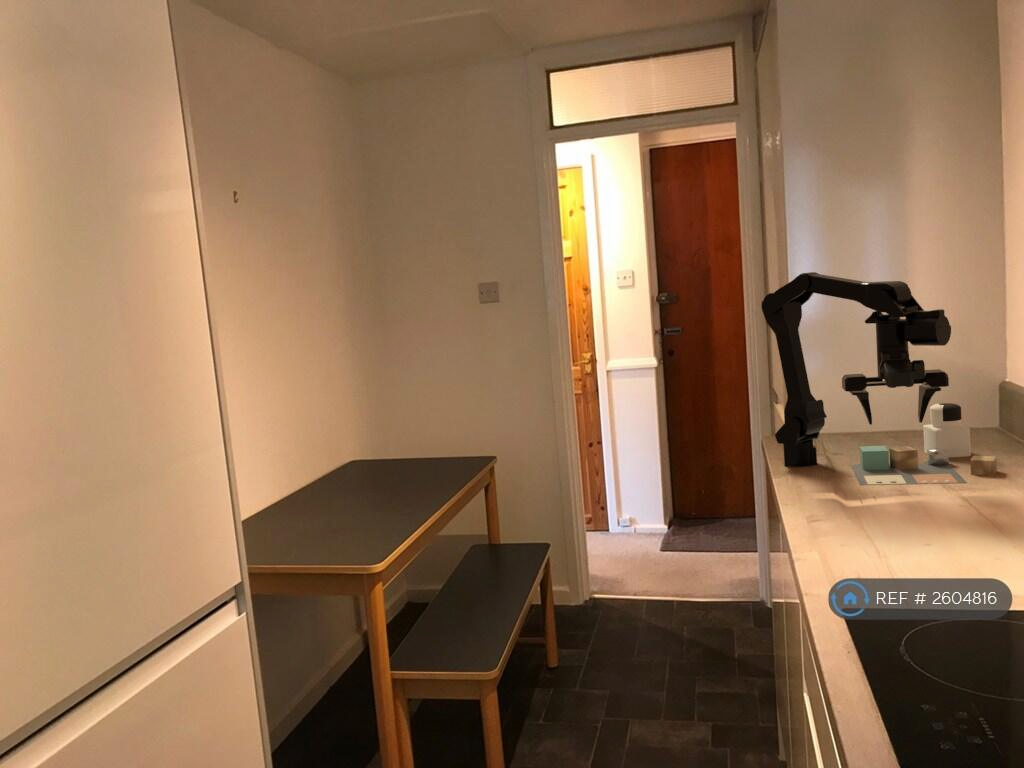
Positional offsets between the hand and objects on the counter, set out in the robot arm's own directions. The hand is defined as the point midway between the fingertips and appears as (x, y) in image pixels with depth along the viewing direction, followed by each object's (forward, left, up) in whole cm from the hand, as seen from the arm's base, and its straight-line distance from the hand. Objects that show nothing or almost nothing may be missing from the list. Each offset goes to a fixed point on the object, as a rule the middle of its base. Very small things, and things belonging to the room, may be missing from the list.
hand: (895, 423), depth 167 cm
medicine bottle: (+13, +20, -12) cm, 26 cm away
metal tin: (+9, +10, -11) cm, 18 cm away
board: (+2, +3, -12) cm, 12 cm away
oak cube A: (+2, +8, -11) cm, 13 cm away
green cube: (-3, +9, -11) cm, 14 cm away
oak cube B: (+14, +2, -10) cm, 17 cm away
